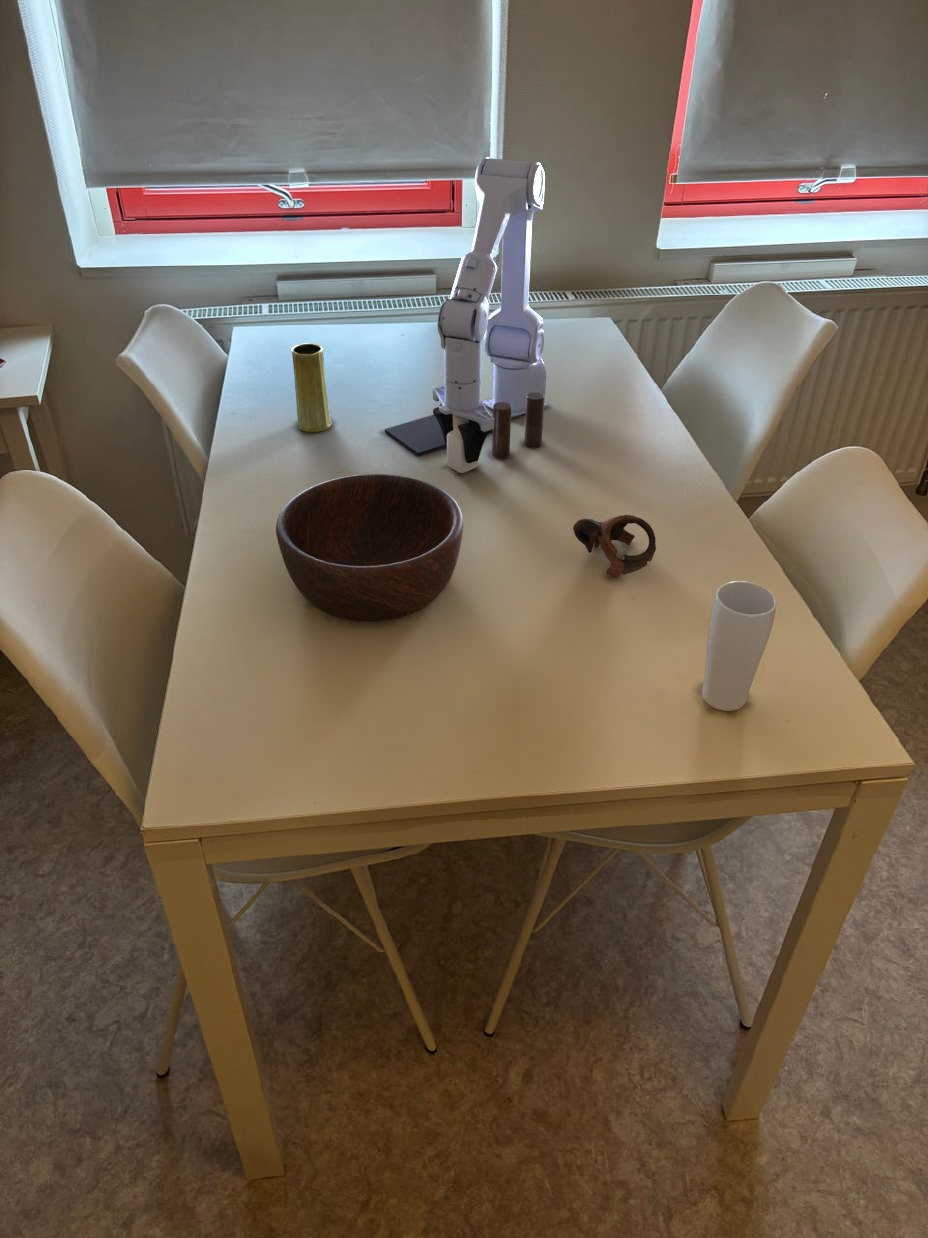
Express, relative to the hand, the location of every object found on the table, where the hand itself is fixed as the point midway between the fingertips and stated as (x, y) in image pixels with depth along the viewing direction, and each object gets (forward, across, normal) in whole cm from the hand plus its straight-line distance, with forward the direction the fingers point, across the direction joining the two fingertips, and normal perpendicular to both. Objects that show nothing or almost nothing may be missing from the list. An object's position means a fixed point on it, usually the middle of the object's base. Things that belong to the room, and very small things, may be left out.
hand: (462, 454), depth 159 cm
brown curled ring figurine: (+3, +35, +2) cm, 35 cm away
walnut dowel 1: (+2, 0, +8) cm, 8 cm away
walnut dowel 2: (+2, 0, +15) cm, 15 cm away
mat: (+2, -13, +5) cm, 14 cm away
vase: (+3, -28, -13) cm, 31 cm away
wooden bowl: (+3, +20, -29) cm, 35 cm away
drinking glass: (+3, +65, -7) cm, 65 cm away
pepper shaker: (+3, 0, 0) cm, 3 cm away
